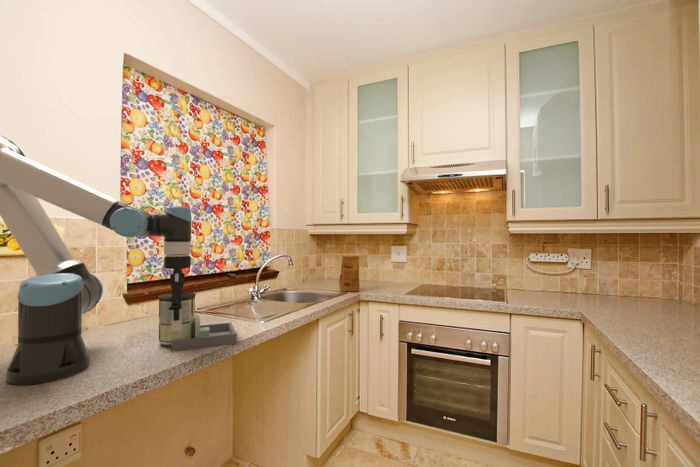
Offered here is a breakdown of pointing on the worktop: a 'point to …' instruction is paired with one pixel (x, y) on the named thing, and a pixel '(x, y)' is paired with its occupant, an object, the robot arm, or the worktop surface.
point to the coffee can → (186, 320)
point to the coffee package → (349, 274)
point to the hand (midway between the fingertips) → (177, 326)
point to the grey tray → (208, 338)
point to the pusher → (200, 331)
